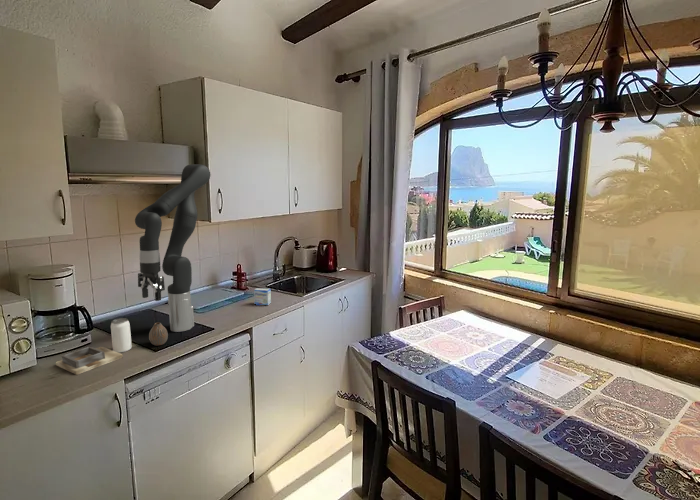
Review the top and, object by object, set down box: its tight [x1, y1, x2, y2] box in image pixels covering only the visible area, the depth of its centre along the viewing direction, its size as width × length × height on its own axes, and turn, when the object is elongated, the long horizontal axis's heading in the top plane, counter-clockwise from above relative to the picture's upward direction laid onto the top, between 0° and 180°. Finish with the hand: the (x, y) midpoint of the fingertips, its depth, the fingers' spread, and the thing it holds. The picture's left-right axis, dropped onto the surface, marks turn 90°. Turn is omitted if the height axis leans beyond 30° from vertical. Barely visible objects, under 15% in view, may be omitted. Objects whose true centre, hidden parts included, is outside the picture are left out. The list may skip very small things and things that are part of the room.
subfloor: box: [55, 346, 124, 376], centre depth 145 cm, size 16×14×4 cm
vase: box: [148, 322, 169, 347], centre depth 161 cm, size 7×7×9 cm
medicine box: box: [253, 287, 272, 306], centre depth 214 cm, size 8×4×9 cm, turn 80°
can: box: [110, 317, 132, 354], centre depth 155 cm, size 6×6×12 cm
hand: (151, 299), depth 165 cm, fingers open, 8 cm apart
